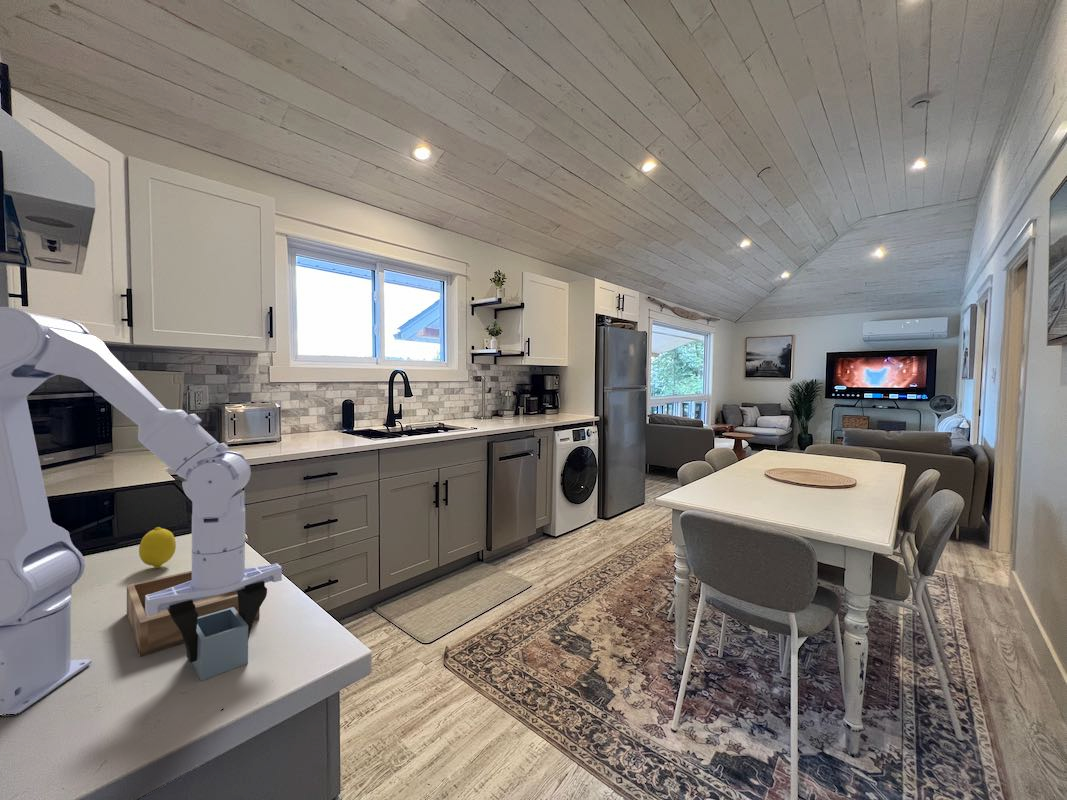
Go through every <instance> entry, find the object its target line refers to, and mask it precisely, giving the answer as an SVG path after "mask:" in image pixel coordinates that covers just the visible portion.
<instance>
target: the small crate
mask: <svg viewBox="0 0 1067 800" xmlns="http://www.w3.org/2000/svg"><path fill="white" fill-rule="evenodd" d="M196 642H197V661H194V662H191V663H192V666H193V667H194V670H195V672H196V674H197V676H198V678H199V680H200V681H201V682H202V681H205V680H207V679H210V678H213V677H215V676H217V675H220V674H224V673H225V672H229V671H232V670H234V669H236V668H239V667H242V666H245V665H247V664H249V640H248V624H247V623H246V622H245V621H244V619H243V618H242V617H241V616H240V614H239V613H238V612H237V610H236V609H235V608H234V607H231V608H228V609H224V610H221V611H217V612H214V613H211V614H207V615H204V616H200V617H198V619H197V630H196Z"/></svg>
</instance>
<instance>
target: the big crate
mask: <svg viewBox="0 0 1067 800" xmlns="http://www.w3.org/2000/svg"><path fill="white" fill-rule="evenodd" d="M191 580H192V570H188V571H184V572H180V573H176V574H175V573H174V574H170V575H167V576H162V577H158V578H153V579H149V580H144V581H139V582H136V583H135V582H134V583H130V584H127V585H126V616H127V619H128V623H129V625H130V629H131V632H132V635H134V636H133V638H134V641H135V644H136V645H135V646H136V648H137V651H138V654H139V657H143V656H146V655H150V654H152V653H153V654H154V653H155V652H159V651H162V650H166V649H169V648H172V647H174V646H178V645H181V644H185V643H184V640H183V637H182V634H181V632H180V630H179V628H178V627H177V625H176V624H175V622H174V621H173V619H172V618H171V616H170V613H169V611H168V609H165V610H161V611H159V613H158V614H154V615H151V616H147V614H146V612H145V595H148V594H152V593H155V592H159V591H162V590H165V589H168V588H171V587H174V586H177V585H179V584H182V583H185V582H188V581H191ZM193 603H194V605H195V610H196V611H197V613H198V617H200V616H204V615H207V614H211V613H214V612H217V611H221V610H224V609H228V608H231V607H234V608H235V609H236V610H237V612H238V613H239V607H238V594H237V590H236V591H233V592H229V593H225V594H221V595H218V596H214V597H210V598H206V599H203V600H199V601H195V602H193ZM260 609H261V607H260V608H259V610H258V612H257V614H256V617H255V619H257V620H260V619H259V618H260V616H261V615H260V613H261V612H260ZM255 619H254V621H256V620H255Z"/></svg>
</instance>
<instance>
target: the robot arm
mask: <svg viewBox="0 0 1067 800" xmlns="http://www.w3.org/2000/svg"><path fill="white" fill-rule="evenodd" d="M57 375H60V376H64V377H70V378H74V379H78V380H80V381H81V382H83V383H84V384H85V385H87V386H88V387H89V388H90V389H91V390H93V391H94V392H96V393H97V394H98V395H99V396H100V397H102V398H103V399H104V400H105V401H107V402H108V403H109V404H110V405H112V406H113V407H115V408H116V409H117V410H118V411H119V412H121V413H122V414H123V415H125V416H126V418H128V419H130V420H131V421H132V422H133V423H134V424H136V425H137V427H138V429H137V440H138V441H139V443H140V444H142V445H143V446H144V447H145V448H147V450H148V451H150V452H151V453H152V454H153V455H154V456H155V457H156V458H158V460H160V461H161V462H162V463H163V464H164V465H165V466H166V467H168V468H169V469H170V470H171V471H173V473H175V474H176V475H177V476H178V477H180V478H181V479H184V481H182V483H181V486H182V489H183V492H184V494H185V495H186V497H187V498H188V499H189V500H190V501H191V502H192V513H191V571H192V580H191V581H188V582H185V583H182V584H179V585H177V586H174V587H171V588H168V589H165V590H162V591H159V592H155V593H152V594H148V595H145V612H146V614H147V616H151V615H154V614H158V613H159V611H161V610H165V609H168V611H169V613H170V616H171V618H172V619H173V621H174V622H175V624H176V625H177V627H178V628H179V630H180V632H181V634H182V637H183V640H184V643H183V644H184V646H185V650H186V658H187V659H188V662H189V663H192V662H194V661H197V642H196V630H197V619H198V613H197V611H196V610H195V605H194V603H193V602H195V601H199V600H203V599H206V598H210V597H214V596H218V595H221V594H225V593H229V592H233V591H236V590H237V594H238V607H239V614H240V616H241V617H242V618H243V619H244V621H245V622H246V623H247V624H248V641H249V639H250V635H251V632H252V628H253V624H254V621H255V620H254V619H255V617H256V614H257V612H258V610H259V608H260V609H261V606H262V605H263V603H264V601H265V599H266V598H267V594H268V588H267V587H266V585H265V584H266V583H269V582H273V583H277V582H281V581H282V580H283V579H282V578H283V576H282V575H283V567H282V566H281V565H280V564H279V563H272V564H267V565H260V566H253V567H247V568H245V567H246V562H245V561H246V559H245V558H246V545H245V544H246V507H245V502H246V501H245V498H246V497H245V490H244V488H245V486H246V485H247V484H248V483H249V481H250V479H251V477H252V476H251V475H252V470H251V466H250V464H249V462H248V461H247V459H246V458H245V456H244V455H243V454H242V453H240V452H237V451H233V450H229V449H230V447H229V446H228V445H227V444H226V443H225V442H222V443H219V442H218V441H217V439H215V438H214V437H213V436H212V435H211V434H210V433H208V431H207V430H205V429H204V428H203V426H201V425H200V423H201V422H202V418H200V417H199V416H198V415H197V414H196V413H190V414H188V413H187V412H186V411H185V410H183V409H168V408H166V407H165V406H164V405H163V404H162V403H161V402H160V401H159V400H158V399H157V398H156V397H155V396H154V395H153V394H152V393H151V392H150V391H149V390H148V389H147V388H146V387H145V386H144V384H143V383H141V382H140V381H139V380H138V379H137V377H135V376H134V375H133V373H131V372H130V371H129V369H127V368H126V366H125V365H124V364H122V362H121V361H120V360H119V359H117V357H116V356H115V355H114V354H113V353H112V352H111V351H110V350H109V348H108V347H107V346H106V344H105V342H104V341H102V340H101V339H100V338H98V337H97V336H96V335H92V334H91V332H90V331H89V330H88V329H87V328H86V326H84V325H83V324H81V323H79V322H77V321H76V320H72V319H69V318H64V317H63V318H58V317H53V316H48V315H43V314H38V313H34V312H28V311H26V310H22V309H19V308H15V307H11V306H0V714H15V715H17V713H18V714H20V713H22V712H23V711H24V710H25V709H27V708H29V707H30V706H32V705H33V704H34V703H36V702H37V701H39V700H40V699H42V698H43V697H44V696H46V695H48V694H49V693H51V692H52V691H53V690H55V689H56V688H58V687H59V686H60V685H62V684H64V683H65V682H67V680H70V679H71V678H73V676H75V675H76V674H78V673H80V672H81V671H82V670H84V669H85V668H86V667H88V666H90V665H91V664H92V659H90V658H86V659H85V658H83V659H72V657H71V656H72V653H71V652H72V631H71V629H72V628H71V627H72V626H71V625H72V618H71V617H72V615H71V614H72V608H71V607H72V605H71V604H72V603H71V602H72V594H73V586H74V585H75V584H76V583H77V582H78V581H79V580H80V579H81V577H83V573H84V571H85V567H86V564H85V558H84V556H83V554H82V552H81V551H80V550H79V549H78V548H76V546H75V545H74V544H73V541H72V539H71V537H70V532H69V531H68V530H66V529H65V528H64V527H62V526H59V525H58V524H56V523H55V522H53V519H52V517H51V510H50V507H49V502H48V496H47V493H46V492H47V491H46V487H45V482H44V478H43V477H44V476H43V471H42V467H41V462H40V457H39V453H38V452H39V451H38V448H37V442H36V437H35V433H34V428H33V423H32V418H31V413H30V409H29V403H28V400H27V398H28V395H30V394H31V393H32V392H34V390H36V389H37V388H38V387H40V386H41V385H42V384H43V383H45V382H46V381H47V380H48V379H50V378H53V377H55V376H57ZM242 489H243V490H242Z"/></svg>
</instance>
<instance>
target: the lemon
mask: <svg viewBox="0 0 1067 800" xmlns="http://www.w3.org/2000/svg"><path fill="white" fill-rule="evenodd" d="M176 548H177V542H176V538H175V536H174V533H173V532H172V531H170V530H168V529H166V528H162V527H160V526H157V527H155V528H153V529H152V530H149V531H148V532H147V533H146V534H145V535H144V536H143V537H142V539H141V541H140V543H139V547H138V554H139V558H140V560H141V561H142V562H143V563H144V564H145V565H148V566H152V567H154V568H155V569H159V568H161V566H162V565H164V564H166V563H167V562H169V561H170V560H171V559H172V558H173V556H174V554H175V552H176Z"/></svg>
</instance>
